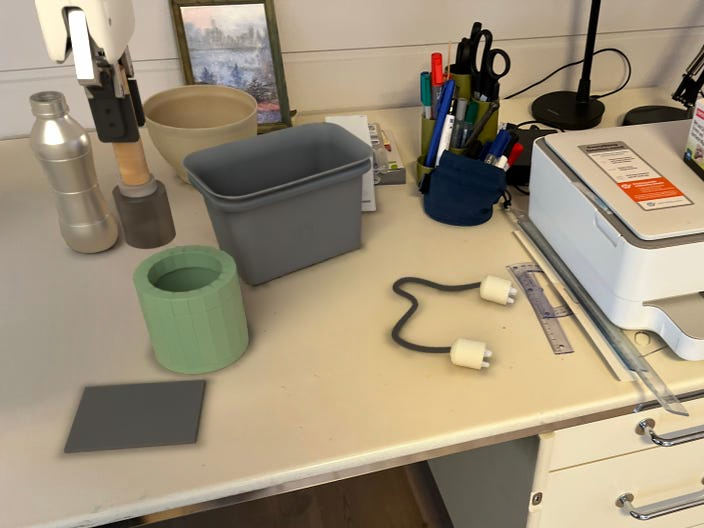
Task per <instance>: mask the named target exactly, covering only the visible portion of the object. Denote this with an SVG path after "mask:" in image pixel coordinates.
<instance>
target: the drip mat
mask: <svg viewBox="0 0 704 528" xmlns="http://www.w3.org/2000/svg"><path fill="white" fill-rule="evenodd" d="M205 387H206V380H205V379H195V380H194V379H192V380H179V381H178V380H177V381H160V382H145V383H130V384H129V383H128V384H115V385H114V384H113V385H99V386H85V387H84V388H83V389H84V390H83V392H82V395H81V398H80V400H79V404H78V407H77V410H76V413H75V415H74V419H73V422H72V425H71V427H70V431H69V432H68V433H69V434H68V437H67V439H66V442H65V446H64V449H63V452H64V454H71V453H72V454H73V453H84V452H98V451H99V452H100V451H111V450H123V449H138V448H149V447H150V448H152V447H164V446H165V447H166V446H178V445H192V444H196V441H197V435H198V429H199V423H200V417H201V412H202V411H201V410H202V404H203V399H204V393H205Z"/></svg>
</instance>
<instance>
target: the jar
mask: <svg viewBox="0 0 704 528" xmlns="http://www.w3.org/2000/svg"><path fill="white" fill-rule="evenodd" d="M132 281H133V284H134V288H135V290H136V295H137V298H138V302H139V305H140V308H141V312H142V316H143V319H144V322H145V326H146V329H147V332H148V336H149V340H150V343H151V346H152V349H153V353H154V357H155V359H156V360H157V362H158V363H159V364H160V365H161V366H162V367H164V368H165V369H167V370H169V371H171V372H174V373H178V374H185V375H203V374H208V373H212V372H216V371H219V370H221V369H224V368H226V367H228V366H230V365H232V364H234V363H236V361H238V360H239V359H240V358H241V357H242V356H243V355H244V354H245V352H246V351H247V349H248V347H249V343H250V337H249V329H248V324H247V318H246V312H245V305H244V302H243V301H244V300H243V295H242V290H241V289H242V288H241V284H240V278H239V274H238V272H237V267H236V264H235V262H234V259H233V258H232V257H231V256H230V255H229V254H227V253H226V252H224V251H222V250H220V248H217V247H214V246H207V245H200V244H191V245H181V246H176V247H169V248H167V249H164V250H161V251H159V252H156V253H154V254H152V255H150V256H149V257H147V258H145V259H144V260H142V261H141V262H140V264H138V266H137V267H136V268H135V270H134V273H133V276H132Z"/></svg>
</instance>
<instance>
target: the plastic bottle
mask: <svg viewBox="0 0 704 528" xmlns="http://www.w3.org/2000/svg"><path fill="white" fill-rule="evenodd" d="M28 102H29V104H30V107H31V113H32V116H33V117H36V118H35V120H34V123H33V124H32V126H31V130H30V132H29V136H28V143H29V147H30V149H31V151H32V153H33V155H34V157H35V158H36V160H37V162H38V164H39V166H40V168H41V170H42V172H43V174H44V176H45V178H46V181H47V183H48V185H49V187H50V190H51V193H52V195H53V198H54V203H55V207H56V210H57V214H58V225H59V229H60V234H61V236H62V238H63V241H65V243H66V245H67V246H68V247H70V248H71V249H73V250H74V251H76V252H78V253H81V254H82V253H83V254H94V253H99V252H103V251H105V250H108V249H110V248H111V247H113V246H114V245H115V244H116V242H117V239H118V237H119V232H118V231H119V230H118V224H117V220H116V219H115V217H114V214H113V213H112V211H111V209H110V208H109V206H108V204H107V202H106V199H105V196H104V194H103V192H102V189H101V186H100V182H99V179H98V175H97V170H96V166H95V161H94V153H93V146H92V140H91V137H90V135H89V133H88V132H87V130H86V128H84V126H83V125H82V124H81V123H79V121H77V120H76V119H75V118H73V116H71V115H70V114H69V113H70V106H69V105H68V103H67V100H66V96H65V94H64V93H63V92H60V91H57V90H45V91H38V92H35V93H33V94H30V96H29V97H28Z"/></svg>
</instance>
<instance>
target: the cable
mask: <svg viewBox="0 0 704 528" xmlns="http://www.w3.org/2000/svg"><path fill="white" fill-rule="evenodd" d="M406 283H410V284H417V285H418V284H419V285H422V286H425V287H429V288H432V289H435V290H439V291H444V292H462V291H468V290H475V289H479V295H480V297H481V299H483V300H487V301H490V302H494V303H496V304H499V305H502V306H503V305H504V306H506V305H507V304H514V301H515V299H514V298H511V297H509V296H517V293H518V290H517V289H516V288H515V287H513V280H509V279H506V278H502V277H499V276H495V275H492V274H488V275H485V276H484V278H483V279H482V280H481V281H476V282H472V283H466V284H458V285H456V284H455V285H448V284H447V285H446V284H441V283H438V282H434V281H431V280H427V279H425V278H421V277H416V276H405V277H400V278H399V279H397V280H396V281H394V283H393V284H392V286H391V287H392V291H393V292H394V293H395V294H397V295H399V296H401V297H402V298H405V299H407V300H408V301H410V302H411V303H412V305H411V306H410V308H409V309H408V310H407V311H406V312H405V313H404V314H403V316H401V318H399V320H398V321H397V322H396V324H395V325H394V326H393V328H392V330H391V338H392V340H393V341H394V342H395V343H396V344H397V345H399V346H400V347H403V348H405V349H408V350H410V351H413V352H417V353H418V352H419V353H425V354H449V356H450V361H451V363H452V364H453V365H456V366H461V367H466V368H471V369H476V370H481V369H482V368H489V367H490V362H486V361H484V357H485V358H491V356H492V354H493V352H492V351H490V350H488V349H486V345H487V343H486V342H483V341H478V340H474V339H469V338H464V337H460V336H459V337H457V338H456V339H455V340H454V341H453V343H452V344H451V346H427V345H420V344H417V343H416V344H415V343H412V342H409V341H407V340H405V339H403V338H402V337H400V336H399V331H400V330H401V328H402V327H403V326H404V325H405V323H406V322H407V321H408V320H409V319H410V318H411V317H412V316H414V313H416V311H417V309H418V307H419V301H418V299H417V298H416V296H414V295H413V294H411V293H410V292H408V291H406V290H403V289H402V288H399V287H400V286H401V285H404V284H406Z"/></svg>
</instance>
